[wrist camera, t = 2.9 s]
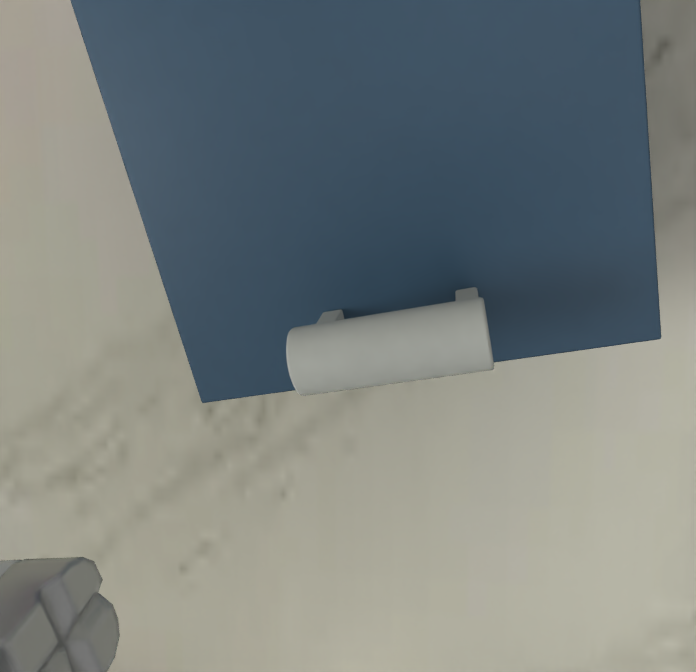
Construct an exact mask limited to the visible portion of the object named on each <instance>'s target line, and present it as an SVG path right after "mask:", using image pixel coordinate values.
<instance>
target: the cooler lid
mask: <svg viewBox="0 0 696 672" xmlns="http://www.w3.org/2000/svg"><path fill="white" fill-rule="evenodd" d="M71 3H72V6H73V9H74V12H75V15H76V18H77V21H78V24H79V28H80V31H81V34H82V37H83V40H84V43H85V46H86V49H87V52H88V55H89V58H90V61H91V64H92V67H93V70H94V73H95V77H96V80H97V83H98V86H99V89H100V92H101V95H102V98H103V101H104V104H105V107H106V110H107V113H108V116H109V119H110V122H111V125H112V129H113V132H114V135H115V138H116V141H117V144H118V147H119V150H120V153H121V156H122V159H123V162H124V165H125V168H126V171H127V174H128V178H129V181H130V184H131V187H132V190H133V193H134V196H135V199H136V202H137V205H138V208H139V211H140V214H141V217H142V220H143V223H144V226H145V230H146V233H147V236H148V239H149V242H150V245H151V248H152V251H153V254H154V257H155V260H156V263H157V266H158V269H159V272H160V275H161V279H162V282H163V285H164V288H165V291H166V294H167V297H168V300H169V303H170V306H171V309H172V312H173V315H174V318H175V321H176V324H177V327H178V331H179V334H180V337H181V340H182V343H183V346H184V349H185V352H186V355H187V358H188V361H189V364H190V367H191V370H192V373H193V376H194V380H195V383H196V386H197V389H198V392H199V395H200V398H201V401H202V403H206V402H213V401H220V400H227V399H235V398H242V397H249V396H256V395H263V394H270V393H278V392H285V391H292V390H296V391H297V392H298V393H299V394H300V395H303V396H306V395H313V394H321V393H328V392H335V391H342V390H350V389H357V388H364V387H372V386H379V385H386V384H393V383H401V382H408V381H415V380H423V379H430V378H437V377H444V376H452V375H459V374H466V373H474V372H481V371H488V370H492V369H494V362H499V361H506V360H514V359H521V358H528V357H535V356H542V355H549V354H556V353H564V352H571V351H578V350H585V349H592V348H599V347H607V346H614V345H621V344H628V343H635V342H642V341H649V340H657V339H661V326H660V310H659V294H658V278H657V262H656V246H655V230H654V214H653V198H652V182H651V166H650V150H649V134H648V118H647V102H646V86H645V70H644V54H643V38H642V22H641V6H640V0H71Z"/></svg>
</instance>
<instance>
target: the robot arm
mask: <svg viewBox="0 0 696 672" xmlns="http://www.w3.org/2000/svg"><path fill="white" fill-rule="evenodd" d="M102 580H103V579H102V577H101V575H100V573H99V571H98V569H97V567H96V564H95V562H94V561H92V560H89V559H86V558H84V557H73V558H45V559H24V560H4V561H0V672H107V670H108V669H109V667H110V665H111V663H112V662H113V660H114V658H115V654H116V650H117V645H118V641H119V636H120V634H119V623H118V617H117V615H116V612H115V609H114V607H113V605H112V604H111V603H110V602H109V601H108V600H106V599H105V598H104V597H103V596H102V595H101V594H99V593H98V592H99V589H100V586H101V583H102Z"/></svg>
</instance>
